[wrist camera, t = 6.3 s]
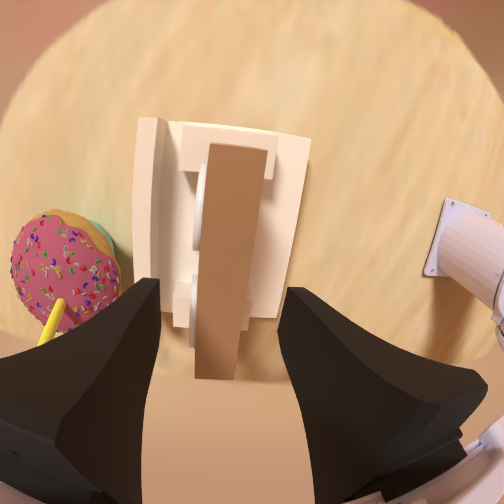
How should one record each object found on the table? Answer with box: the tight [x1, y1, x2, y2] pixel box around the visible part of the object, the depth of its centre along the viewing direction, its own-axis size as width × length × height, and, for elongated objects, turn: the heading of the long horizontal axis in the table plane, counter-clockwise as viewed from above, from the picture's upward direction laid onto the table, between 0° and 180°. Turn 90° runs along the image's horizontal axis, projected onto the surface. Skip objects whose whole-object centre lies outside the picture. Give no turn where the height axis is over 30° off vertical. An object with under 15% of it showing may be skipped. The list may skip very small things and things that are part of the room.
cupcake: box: [10, 209, 122, 346], centre depth 13 cm, size 9×8×12 cm
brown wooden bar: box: [189, 142, 268, 380], centre depth 13 cm, size 2×11×5 cm, turn 172°
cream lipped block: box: [132, 118, 311, 331], centre depth 17 cm, size 10×13×5 cm
